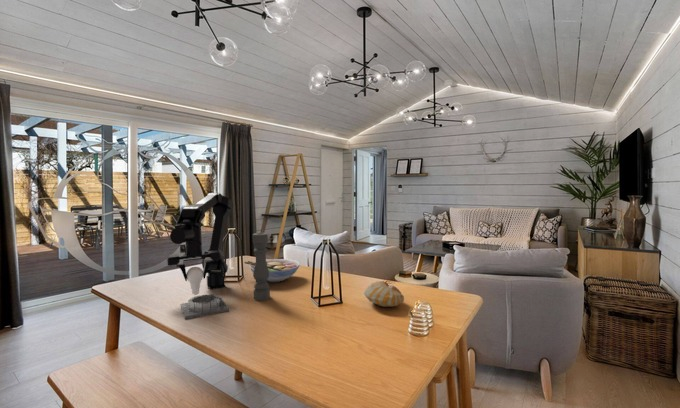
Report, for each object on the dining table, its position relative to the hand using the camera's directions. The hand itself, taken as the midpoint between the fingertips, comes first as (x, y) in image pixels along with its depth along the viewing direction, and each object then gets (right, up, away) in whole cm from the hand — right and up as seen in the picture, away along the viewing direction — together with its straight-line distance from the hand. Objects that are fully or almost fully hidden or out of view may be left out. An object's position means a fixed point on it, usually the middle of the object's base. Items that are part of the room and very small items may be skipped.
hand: (195, 279), depth 133 cm
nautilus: (+73, -7, -6) cm, 74 cm away
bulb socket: (+8, -8, -10) cm, 15 cm away
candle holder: (+26, -7, 0) cm, 27 cm away
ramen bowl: (+26, -6, +25) cm, 37 cm away
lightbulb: (0, -6, 0) cm, 6 cm away
